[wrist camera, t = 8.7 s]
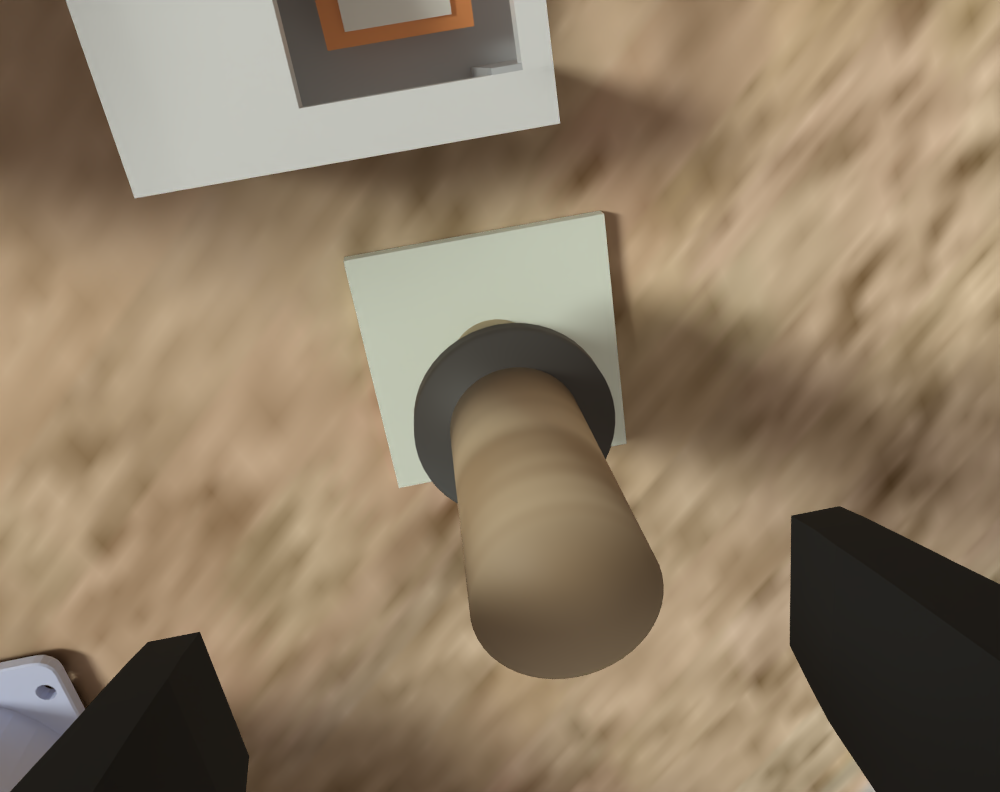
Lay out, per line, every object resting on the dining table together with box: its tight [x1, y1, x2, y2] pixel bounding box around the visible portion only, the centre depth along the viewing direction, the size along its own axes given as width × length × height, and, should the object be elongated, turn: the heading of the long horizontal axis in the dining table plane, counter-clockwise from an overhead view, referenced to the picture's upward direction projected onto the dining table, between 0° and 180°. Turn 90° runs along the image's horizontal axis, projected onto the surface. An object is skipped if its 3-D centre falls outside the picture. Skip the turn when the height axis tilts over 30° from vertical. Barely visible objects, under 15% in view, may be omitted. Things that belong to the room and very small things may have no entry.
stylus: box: [414, 319, 663, 679], centre depth 14 cm, size 4×4×9 cm
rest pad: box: [344, 211, 627, 488], centre depth 19 cm, size 6×6×1 cm
